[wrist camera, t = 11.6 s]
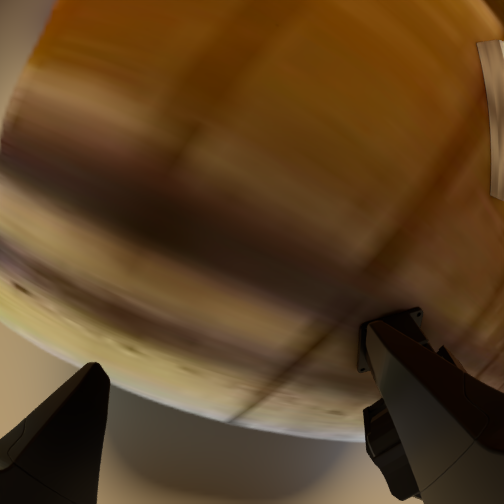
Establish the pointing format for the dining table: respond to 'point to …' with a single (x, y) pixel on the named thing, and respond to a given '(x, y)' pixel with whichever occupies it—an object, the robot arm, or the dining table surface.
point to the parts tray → (495, 108)
